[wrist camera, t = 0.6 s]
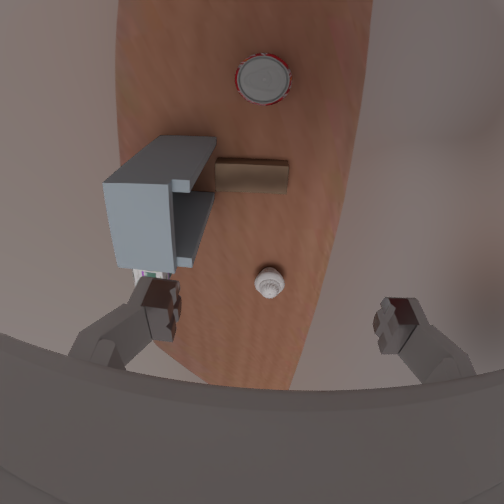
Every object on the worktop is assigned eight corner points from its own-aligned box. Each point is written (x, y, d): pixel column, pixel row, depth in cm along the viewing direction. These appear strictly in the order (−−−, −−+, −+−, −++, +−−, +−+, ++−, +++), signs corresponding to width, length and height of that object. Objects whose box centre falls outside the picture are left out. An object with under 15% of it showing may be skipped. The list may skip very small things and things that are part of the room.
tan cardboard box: (218, 157, 50) (215, 163, 47) (287, 160, 50) (289, 166, 47) (218, 183, 53) (215, 191, 50) (285, 186, 53) (286, 194, 50)
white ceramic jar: (252, 280, 65) (251, 303, 60) (258, 258, 62) (257, 281, 56) (279, 285, 66) (280, 308, 60) (287, 264, 62) (289, 286, 57)
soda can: (288, 96, 43) (296, 106, 32) (243, 98, 44) (236, 109, 33) (285, 55, 39) (293, 50, 28) (239, 58, 40) (230, 54, 29)
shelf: (160, 135, 47) (102, 183, 30) (216, 136, 48) (186, 185, 30) (162, 196, 54) (118, 267, 37) (214, 199, 54) (189, 275, 37)
